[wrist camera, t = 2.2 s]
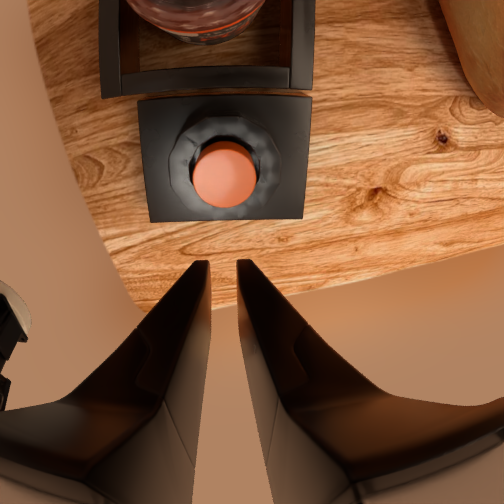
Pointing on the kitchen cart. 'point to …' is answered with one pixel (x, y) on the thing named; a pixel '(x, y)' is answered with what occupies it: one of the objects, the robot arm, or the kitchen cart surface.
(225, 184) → the stop button
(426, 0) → the kitchen cart surface
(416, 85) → the kitchen cart surface
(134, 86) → the rectangular frame
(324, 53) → the kitchen cart surface
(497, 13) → the bread roll
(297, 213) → the control block
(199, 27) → the supplement bottle
